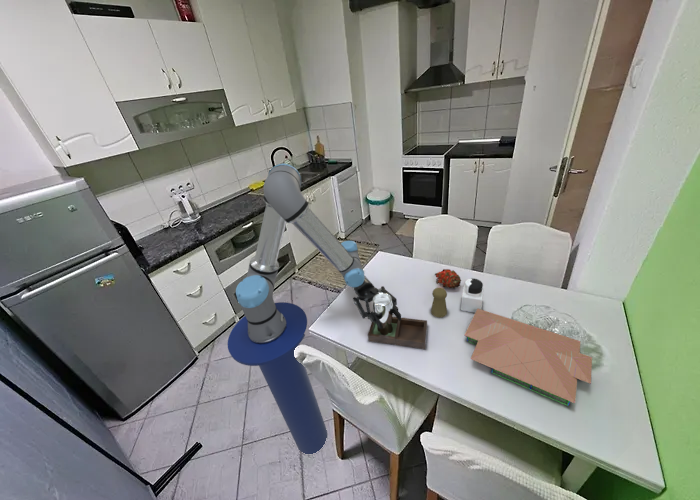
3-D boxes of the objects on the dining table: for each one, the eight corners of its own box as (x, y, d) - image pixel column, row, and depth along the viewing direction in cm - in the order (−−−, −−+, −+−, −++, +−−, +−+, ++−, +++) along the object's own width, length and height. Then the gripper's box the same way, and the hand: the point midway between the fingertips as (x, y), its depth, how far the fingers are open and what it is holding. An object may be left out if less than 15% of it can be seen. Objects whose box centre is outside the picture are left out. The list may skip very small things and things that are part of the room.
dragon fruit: (460, 295, 117) (436, 287, 126) (468, 277, 118) (443, 271, 127) (453, 287, 111) (427, 280, 120) (461, 269, 113) (435, 263, 122)
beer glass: (385, 319, 107) (381, 289, 99) (398, 329, 102) (396, 298, 94) (372, 330, 103) (367, 299, 96) (385, 340, 98) (382, 309, 91)
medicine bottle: (481, 301, 110) (485, 277, 103) (480, 314, 104) (484, 289, 98) (462, 298, 113) (464, 275, 106) (460, 310, 107) (462, 286, 101)
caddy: (368, 341, 101) (367, 335, 99) (374, 320, 109) (374, 314, 107) (425, 349, 94) (425, 343, 93) (427, 326, 103) (427, 320, 101)
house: (585, 416, 71) (595, 397, 66) (455, 359, 90) (456, 342, 85) (588, 352, 85) (597, 333, 81) (476, 314, 104) (478, 298, 100)
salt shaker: (448, 308, 109) (450, 287, 103) (444, 319, 104) (446, 297, 99) (433, 305, 112) (433, 283, 106) (428, 314, 107) (429, 293, 102)
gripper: (383, 284, 117) (415, 318, 99) (341, 301, 112) (365, 341, 93) (382, 270, 114) (415, 302, 95) (338, 287, 108) (363, 325, 89)
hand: (390, 321), depth 94 cm, fingers closed on beer glass, 7 cm apart
